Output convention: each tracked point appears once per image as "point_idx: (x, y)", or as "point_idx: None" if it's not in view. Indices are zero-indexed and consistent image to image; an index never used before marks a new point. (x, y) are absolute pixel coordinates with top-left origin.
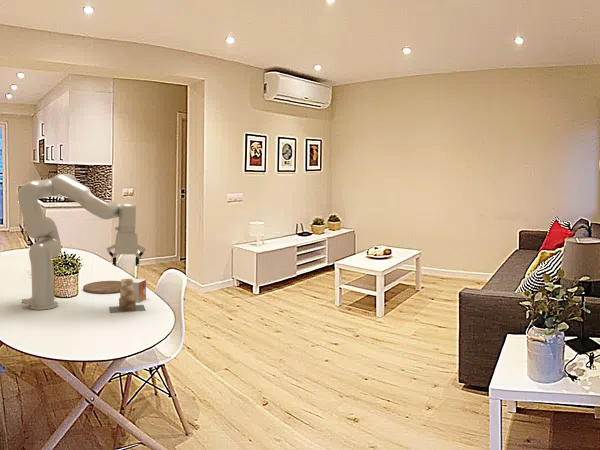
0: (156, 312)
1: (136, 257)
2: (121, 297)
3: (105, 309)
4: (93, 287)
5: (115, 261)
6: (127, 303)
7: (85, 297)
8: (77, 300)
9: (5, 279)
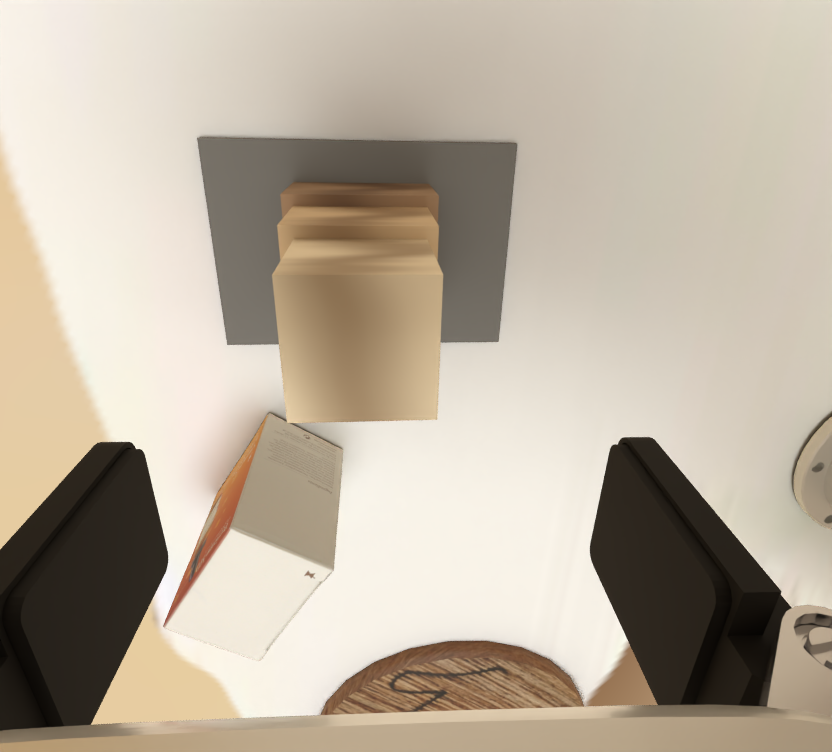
0: (91, 71)
1: (6, 672)
2: (427, 215)
3: (528, 297)
4: None
5: (691, 509)
6: (364, 191)
7: (599, 595)
8: None
9: None
